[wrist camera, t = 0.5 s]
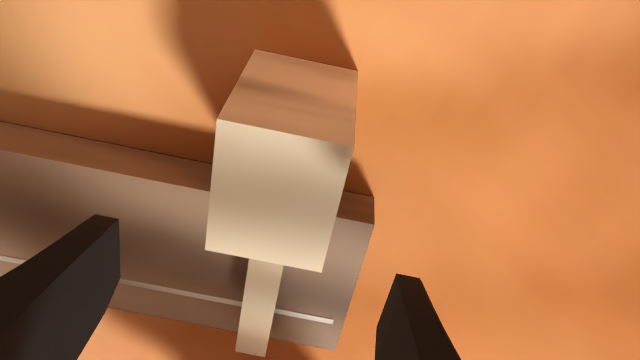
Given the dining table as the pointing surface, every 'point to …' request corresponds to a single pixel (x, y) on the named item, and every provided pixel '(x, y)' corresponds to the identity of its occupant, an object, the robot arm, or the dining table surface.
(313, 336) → the plank
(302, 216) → the wooden mallet
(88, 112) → the dining table surface
